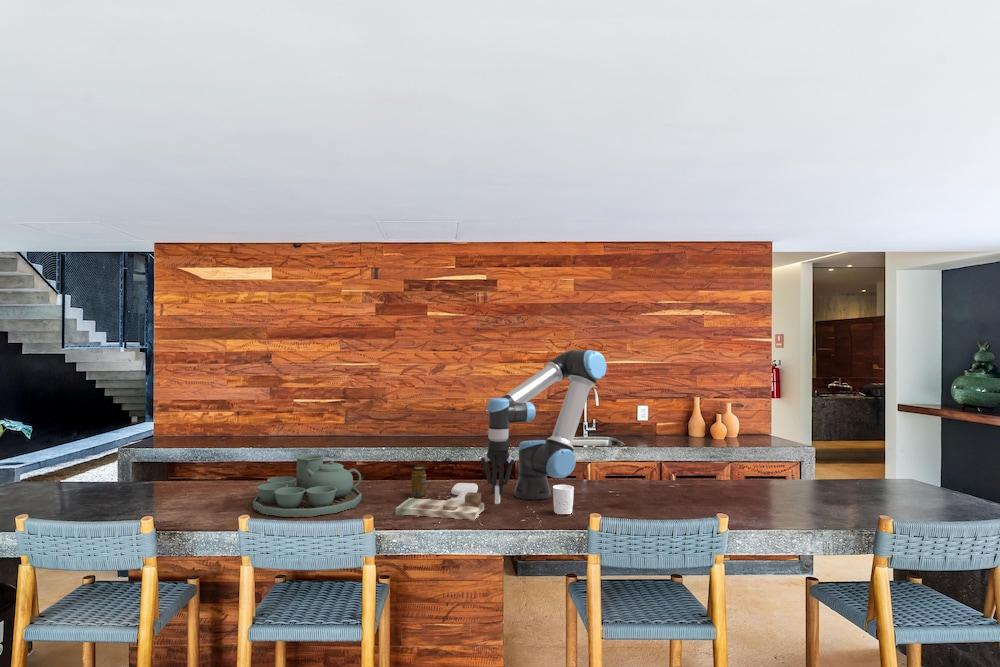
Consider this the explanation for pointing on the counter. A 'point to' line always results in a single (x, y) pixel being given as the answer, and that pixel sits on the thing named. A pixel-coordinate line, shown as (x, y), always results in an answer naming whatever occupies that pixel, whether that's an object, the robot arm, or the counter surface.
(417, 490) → the condiment
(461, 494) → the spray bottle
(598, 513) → the counter surface
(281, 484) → the tea set
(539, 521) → the counter surface
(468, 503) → the walnut block
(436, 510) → the trap deck
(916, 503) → the counter surface
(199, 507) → the counter surface
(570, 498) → the white cup
